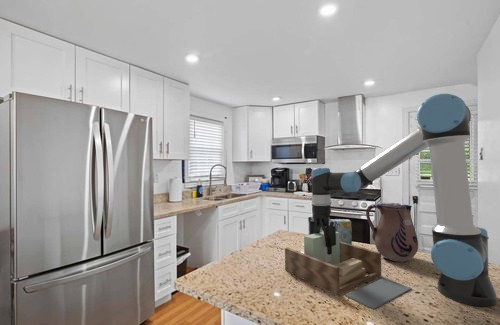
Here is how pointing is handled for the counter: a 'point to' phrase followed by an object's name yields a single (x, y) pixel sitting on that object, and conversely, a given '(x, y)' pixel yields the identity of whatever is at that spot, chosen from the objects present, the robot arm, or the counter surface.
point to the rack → (333, 267)
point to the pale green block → (321, 247)
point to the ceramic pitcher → (394, 231)
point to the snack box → (342, 230)
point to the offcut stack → (350, 271)
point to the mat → (378, 293)
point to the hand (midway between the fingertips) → (322, 259)
